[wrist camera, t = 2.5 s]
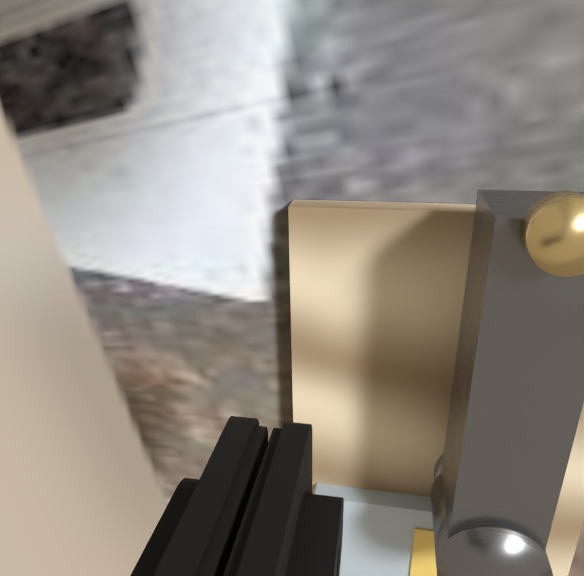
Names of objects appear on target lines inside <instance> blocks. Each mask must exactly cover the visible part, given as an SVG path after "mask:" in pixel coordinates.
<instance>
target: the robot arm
mask: <svg viewBox="0 0 584 576" xmlns="http://www.w3.org/2000/svg"><path fill="white" fill-rule="evenodd" d="M343 510H344V498H342V497H334V496H326V495H318V494H312V425H311V424H305V423H295V422H284V424H283V427H282V429H281V428H274V429H273V431H272V434H271V437H270V439H269V442H268V430H267V427H262V426H259V421H258V419H255V418H245V417H235V416H231V417H230V418H229V420H228V421H227V423H226V426H225V428H224V430H223V432H222V434H221V436H220V438H219V440H218V442H217V444H216V446H215V448H214V451H213V453H212V455H211V457H210V459H209V461H208V463H207V465H206V467H205V469H204V471H203V473H202V476H201V478H200V480H198V479H189V478H184V479H183V480H182V481H181V482H180V483H179V485H178V486H177V488H176V490H175V492H174V494H173V496H172V498H171V500H170V502H169V503H168V505H167V507H166V509H165V511H164V513H163V515H162V517H161V519H160V521H159V522H158V524H157V526H156V528H155V530H154V532H153V534H152V536H151V538H150V540H149V542H148V543H147V545H146V547H145V549H144V551H143V553H142V555H141V557H140V559H139V561H138V563H137V565H136V566H135V568H134V570H133V572H132V574H131V576H339V574H340V564H341V551H342V536H343Z"/></svg>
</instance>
